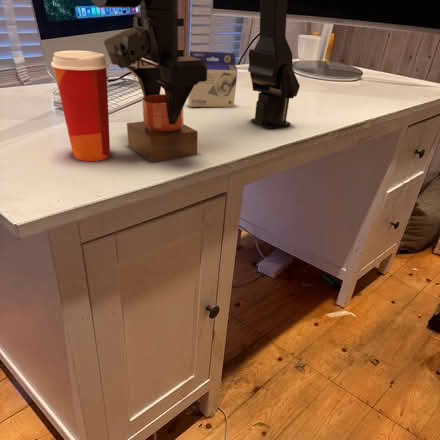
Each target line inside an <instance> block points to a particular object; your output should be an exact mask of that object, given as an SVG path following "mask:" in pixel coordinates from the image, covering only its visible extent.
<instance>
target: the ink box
mask: <svg viewBox="0 0 440 440" xmlns="http://www.w3.org/2000/svg"><path fill="white" fill-rule="evenodd" d="M189 56H191V57H194V58H197V59H201V60H203V61H204V63H205V64H206V65H207V81H204V82H198V84H197V85H194V87H193V89H192V91H191V93H190V94H189V96H188V98H187V102H188V103H187V104H188V107H189V108H208V107H209V108H234V107H235V98H236V89H237V79H238V67H237V65H236V58H237V53H236V52H226V51H225V52H223V51H197V50H192V51H191V50H190V51H189ZM211 58H214V59H218V60H208V59H211Z"/></svg>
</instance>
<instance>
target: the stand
mask: <svg viewBox="0 0 440 440" xmlns="http://www.w3.org/2000/svg"><path fill="white" fill-rule="evenodd" d="M126 131H127V143H128V145H127V146H128V147H129V148H130V149H132V150H133V151H135V152H136V153H137V154H139V155H141V156H142V157H144V158H145V159H146V160H148V161H149V162H151V163H155V162H162V161H167V160H172V159H178V158H183V157H189V156H195V155H198V136H199V135H198V133H199V131H198V130H196V129H194V128H192V127H191V126H188V125H186V124H185V123H183V125H182V126H181V127H180V129H178V130H175V131H168V132H161V131H154V130H150V129H148V128H147V126H145V125H144V120H141V121H134V122H127V123H126Z"/></svg>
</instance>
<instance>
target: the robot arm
mask: <svg viewBox="0 0 440 440" xmlns="http://www.w3.org/2000/svg"><path fill="white" fill-rule="evenodd" d="M91 3H92V4H93V5H94V6H95V7H96V8H99V9H102V8H103V9H136V8H138V7H139V14H134V17H132V18H133V22H132V23H133V27H130V28H128V29H126V30H125V29H124V30H122V31H121V32H119V33H116V34H115V35H113V36H110V37H108V38H106V39H104V41H103V44H104V47H105V49H106V52H107V54H108V57H109V59H110V62H111V65H114V66H115V65H116V66H118V67H119V68H120V69H125V68H126V69H127V70H128V71H129V72H131V74H132V75H133V76H135V77H136V79H137V80H138V83H139V86H140V88H141V92H142V95H143V97H145V96H148V95H155V94H161V90H162V89H163V90H164V94H165V97H166V106H167V114H168V120H169V124H175V123H176V122H177V119H178V117H179V115H180V113H181V111H182V108H183V109H184V106H185V104H186V102H187V101H188V96H189V94H190V93H191V91H192V89H193V87H194V85H197V84H198V82H204V81H207V65H206V64H205V63H204V61H203V60H201V59H197V58H194V57H191V56H190V55H188V56H185V49H183V48H179V27H184V26H185V17H184V18H183V17H179V0H91ZM287 13H288V0H259V38H258V40H257V42H256V44H255V46H254V48H250V49H249V51H248V61H249V62H248V69H247V72H248V73H249V76H250V79H251V85H252V87H251V88H252V90H253V92H258V96H257V101H256V104H255V113H254V117H253V118H251V119H250V122H252V123H253V124H257V125H259V126H262V127H263V128H266V129H276V128H283V127H288V126H289V127H290V126H291V122H289V121H287V117H288V111H289V110H288V109H289V104H290V99H294V97H297V95H298V93H299V90H300V86H301V85H300V83H299V81H298V78H297V75H296V74H295V71H294V65H293V64H294V61H293V60H294V59H293V52H292V50H291V47H290V45H289V42H288V40H287V36H286V31H287Z"/></svg>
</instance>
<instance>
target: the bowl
mask: <svg viewBox="0 0 440 440" xmlns="http://www.w3.org/2000/svg"><path fill="white" fill-rule="evenodd" d="M141 101H142V102H141V103H142V115H143V121H144V125H145V126H147V128H148V129H150V130H154V131H161V132H168V131H175V130H178V129H180V127H181V126H182V125H183V124H184V107H183V108H182V111H181V113H180V115H179V117H178V119H177V122H176V123H175V124H169V120H168V114H167V106H166V97H165V93H160V94H155V95H148V96H145V97H144V96H143V97H142V98H141Z"/></svg>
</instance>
